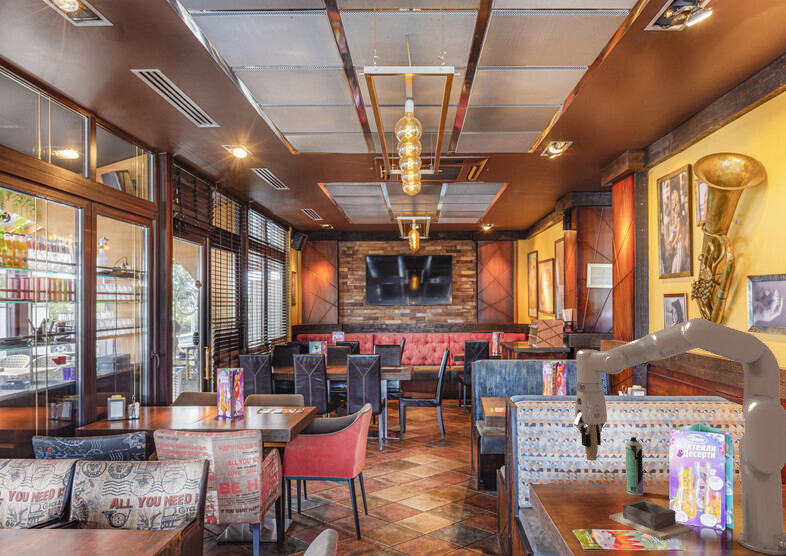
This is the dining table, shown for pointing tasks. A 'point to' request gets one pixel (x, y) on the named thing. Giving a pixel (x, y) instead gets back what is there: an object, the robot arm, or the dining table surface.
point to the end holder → (650, 519)
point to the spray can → (634, 467)
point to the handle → (592, 442)
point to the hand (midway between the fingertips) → (591, 444)
